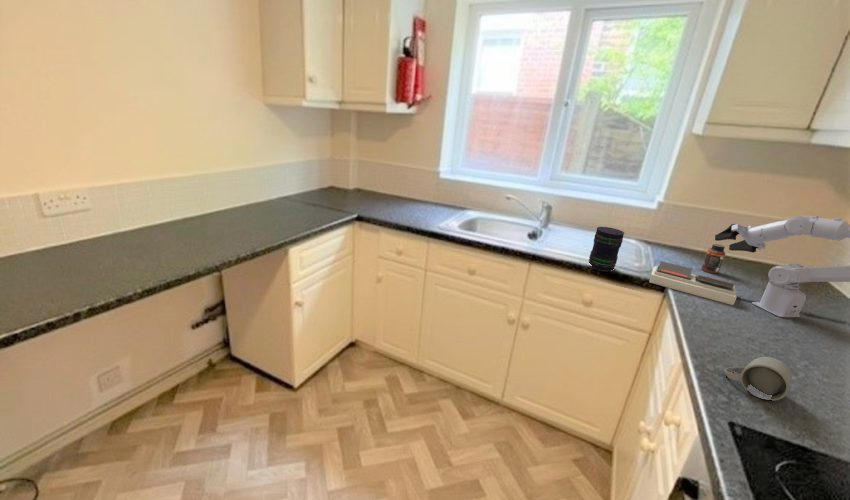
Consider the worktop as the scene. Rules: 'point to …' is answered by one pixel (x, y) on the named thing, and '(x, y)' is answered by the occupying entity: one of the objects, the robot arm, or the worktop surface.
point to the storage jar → (606, 248)
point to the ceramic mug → (764, 376)
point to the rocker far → (674, 270)
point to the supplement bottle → (713, 259)
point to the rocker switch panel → (695, 286)
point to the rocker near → (714, 280)
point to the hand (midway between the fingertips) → (722, 242)
